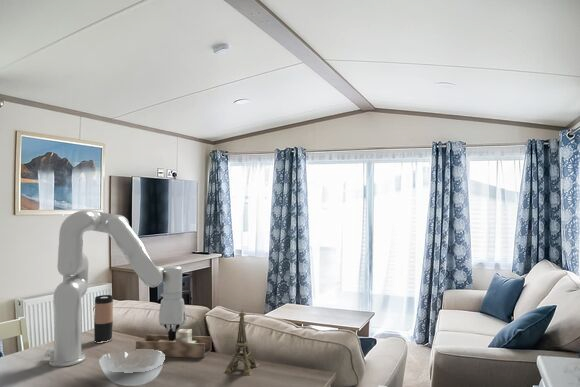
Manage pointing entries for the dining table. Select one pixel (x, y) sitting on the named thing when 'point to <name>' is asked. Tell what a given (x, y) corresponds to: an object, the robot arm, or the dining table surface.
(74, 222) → the robot arm
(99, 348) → the dining table surface
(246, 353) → the eiffel tower
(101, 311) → the travel mug
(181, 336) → the block
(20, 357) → the dining table surface
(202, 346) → the box
